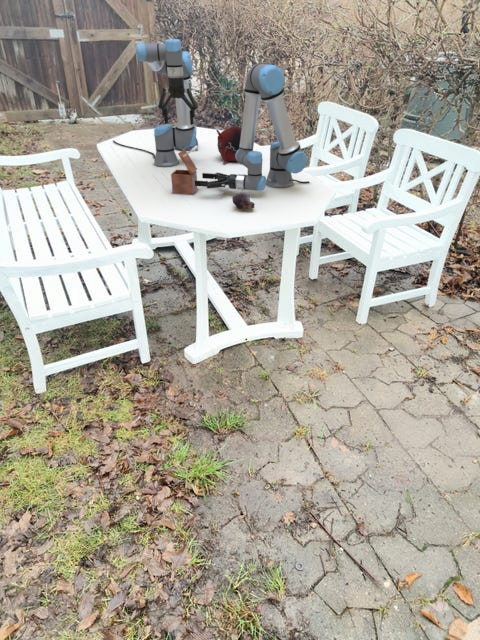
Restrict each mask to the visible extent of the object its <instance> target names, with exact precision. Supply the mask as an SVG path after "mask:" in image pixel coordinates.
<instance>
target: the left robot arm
mask: <svg viewBox="0 0 480 640" xmlns="http://www.w3.org/2000/svg"><path fill="white" fill-rule="evenodd" d="M135 51H136V52H135V53H136V59H137V61H138V62H143V63H144V62H146V65H147V68H148V69H149V70H151V71H152V72H153V73H156V74H158V75H162V76H167V77H168V78H167V84H168V87H163V88H162V92H161V96H160V99H159V102H158V105H157V108H158V109H161V114H162V117H163V118H164V124H162V125H158V126H156V127H155V128H154V129H153V133H154V134H153V136H154V142H155V143H154V145H155V153H154V152H151V151H149V150H146V149H142V148H139V147H133V146H128V145H125V144H122V143H118V142H117V141H115V140H112V142H113V143H115V144H116V145H119V146H122V147H125V148H129V149H134V150H137V151H138V150H139V151H142V152H147V153H148V154H151V155H153V159H154V165H155V166H157V167H163V168H164V167H165V168H167V167H168V168H169V167H174V166H177V165H178V164H179V159H178V157H177V153H176V151H175V147H189V146H194V145H195V144H196V138H197V126H195V123H194V118H195V116H196V111H195V110H198V109H199V106H198V104H197V101H196V100H195V98H194V95H193V94H192V90H191V88H190V85H189V84H190V83H189V81H190V80H191V78H192V75H193V74H194V69H193V62H192V57H191V54H190V52H189V51H186V50H185V51H184V50H183V48H182V42H181V40H180V39H177V38H169V39H166V40H165V41H164V42H161V43H144V42H143V43H137V44H136V46H135ZM167 93H169V95H168V97H167V96H166V95H167ZM166 97H167V98H166ZM172 99H175V109H176V120H177V121H176V123H175V126H173V125H172V124H169V118H168V117H169V115H168V109H167V107H168V105H169V103H170V102H171V101H172Z"/></svg>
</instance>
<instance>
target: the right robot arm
mask: <svg viewBox="0 0 480 640" xmlns="http://www.w3.org/2000/svg"><path fill="white" fill-rule="evenodd" d="M245 78H246V79H245V83H244V94H245V100H244V108H243V115H242V123H241V128H242V130H241V138H240V146H239V150H237V152H236V154H235V158H236V160H237V161H236V162H238V163H239V164H240V165H242V166H244V167H245V168H247V174H237V173H236V174H235V173H231V174H226V173H222V172H216V173H209V172H202V173H201V176H202V177H201V178H202V179H207V180H197V181H196V180H195V186H197V187H204V188H206V189H219V188H226V186H228V188H229V189H230V190H241V191H245V190H247V191H257V192H260V191H263V192H264V191H265V189H266V187H267V186H268V187H272V188H278V189H279V188H289V187H291V186H293V184H294V183H293V182H295V183H299V184H310V181H308V180H307V181H301V180H297V179H293V176H292V174H299V173H301V172H302V171H303V170H304V169H306V166H307V164H308V156H307V154H306V153H305V152H304V151H303V150H302V148H301V144H300V142H299V141H297V140H296V137H295V134H294V129H293V126H292V123H291V120H290V117H289V114H288V110H287V106H286V103H285V100H284V93H285V88H284V85H285V84H286V79H285V74H284V72H283V70H282V69H281V68H279V67H278V66H276V65H274V64H267V63H265V62H257V63H254V64H253V65H252V66H251V67H250V68H249V70H248V72H247V75H246V77H245ZM261 101H262V102H264V103H265V105H266V107H267V111H268V114H269V117H270V120H271V123H272V126H273V130H274V134H275V136H276V139H277V141H273V142H271V143H270V146H269V171H268V174H267V176H266V175H263V153H262V152H261V151H258V150H254V145H255V138H256V131H257V125H258V119H259V111H260V104H261ZM208 179H209V180H210V181H208ZM211 180H212V181H211Z"/></svg>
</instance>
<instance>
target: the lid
mask: <svg viewBox="0 0 480 640" xmlns="http://www.w3.org/2000/svg"><path fill="white" fill-rule="evenodd" d="M197 148H198V149H199V145H198V146H195V147H194V148H192V149H191V150H185V149H183V150H180V151H179V152H178V153H177V155H178V157H179V158H180V160H181V161H182V163H183V164H184V166H185V168H186V170H188V171H189V173H190V174H193V173H194V172H195V171H196V172H197V170H198V168H197V166H196V164H195V163H194V161H193V160H192V158H191V156H190V154H191V153H194V152H195V151H197V150H198V149H197ZM196 149H197V150H196Z"/></svg>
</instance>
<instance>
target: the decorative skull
mask: <svg viewBox="0 0 480 640" xmlns="http://www.w3.org/2000/svg"><path fill="white" fill-rule="evenodd" d="M241 130H242V126H231V127H228V128H226V129H225V130H223V131H221V132H220V130H218V129H216V133H217V135H218V136H217V150H218V153H219V154H220V157H221V159H222V160H223V162H222V163H223V165H225V163H226V162H227V161H228V162H238V161H237V160H236V158H235V154H236V152H237V150H239V146H240V138H241Z"/></svg>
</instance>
